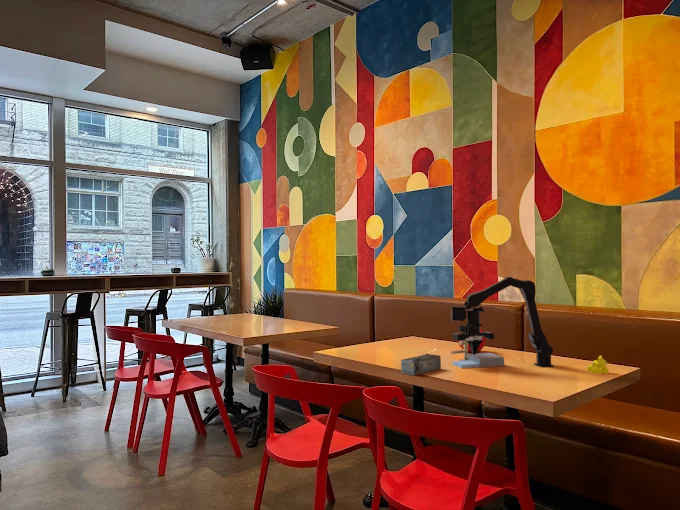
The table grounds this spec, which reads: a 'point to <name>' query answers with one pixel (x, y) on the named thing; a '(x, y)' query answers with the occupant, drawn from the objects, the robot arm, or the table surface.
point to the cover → (465, 364)
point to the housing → (486, 359)
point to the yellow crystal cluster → (598, 366)
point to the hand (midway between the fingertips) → (473, 354)
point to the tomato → (479, 346)
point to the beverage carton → (421, 364)
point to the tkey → (462, 350)
